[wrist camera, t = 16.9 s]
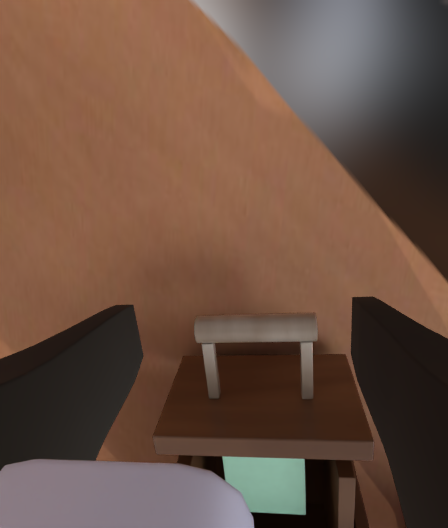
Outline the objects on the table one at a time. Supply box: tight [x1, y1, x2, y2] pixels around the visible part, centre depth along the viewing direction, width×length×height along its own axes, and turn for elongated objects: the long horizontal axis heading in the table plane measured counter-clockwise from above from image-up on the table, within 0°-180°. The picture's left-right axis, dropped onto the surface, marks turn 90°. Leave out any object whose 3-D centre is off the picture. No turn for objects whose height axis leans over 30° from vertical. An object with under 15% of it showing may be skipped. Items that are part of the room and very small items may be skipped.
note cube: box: [222, 456, 306, 515], centre depth 22 cm, size 4×4×4 cm
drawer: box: [153, 312, 374, 528], centre depth 22 cm, size 17×10×7 cm, turn 6°
